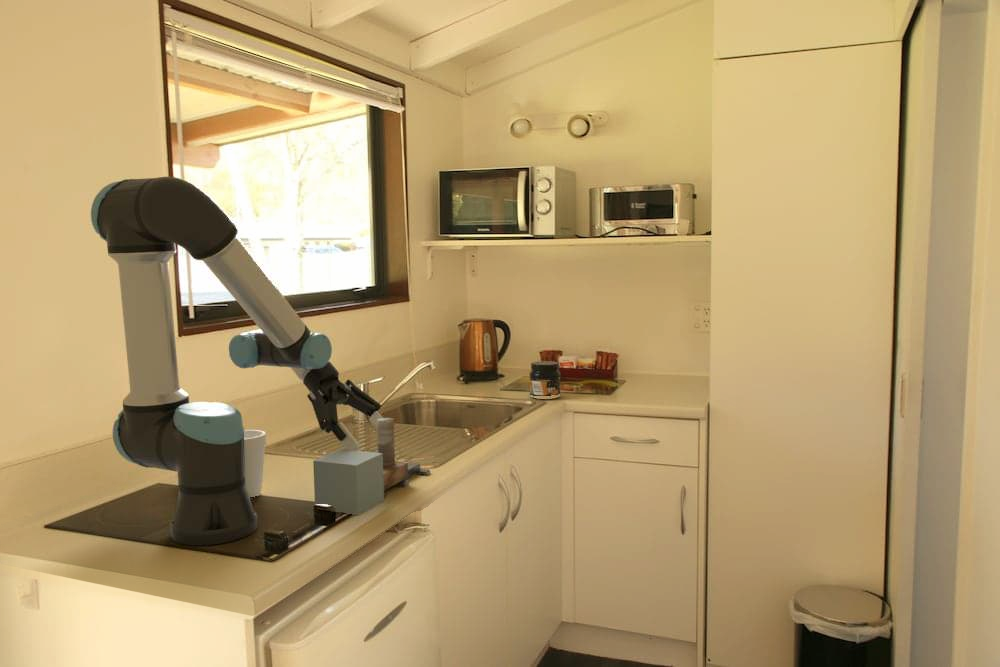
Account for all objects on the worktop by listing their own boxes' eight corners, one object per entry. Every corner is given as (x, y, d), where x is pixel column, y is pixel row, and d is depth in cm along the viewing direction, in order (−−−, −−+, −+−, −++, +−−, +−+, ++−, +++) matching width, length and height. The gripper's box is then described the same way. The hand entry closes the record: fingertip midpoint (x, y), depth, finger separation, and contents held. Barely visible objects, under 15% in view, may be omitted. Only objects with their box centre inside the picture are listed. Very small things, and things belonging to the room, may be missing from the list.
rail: (380, 500, 167) (380, 490, 167) (347, 495, 170) (347, 486, 170) (429, 472, 187) (429, 464, 187) (399, 469, 190) (399, 461, 190)
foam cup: (245, 486, 179) (242, 428, 177) (277, 491, 174) (275, 432, 173) (212, 498, 170) (208, 437, 169) (244, 504, 166) (241, 441, 165)
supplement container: (533, 401, 272) (533, 365, 270) (526, 395, 282) (526, 361, 281) (564, 399, 274) (563, 364, 272) (556, 394, 284) (555, 360, 283)
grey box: (344, 495, 171) (342, 448, 170) (385, 500, 167) (383, 452, 166) (315, 509, 162) (313, 460, 161) (357, 515, 158) (356, 465, 157)
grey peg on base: (379, 494, 168) (377, 429, 166) (350, 491, 170) (348, 427, 169) (408, 479, 179) (406, 417, 177) (380, 476, 181) (378, 415, 180)
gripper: (288, 367, 169) (350, 444, 164) (357, 353, 192) (413, 421, 187) (269, 390, 172) (329, 467, 167) (339, 374, 195) (394, 441, 190)
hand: (373, 443), depth 177 cm, fingers open, 13 cm apart
